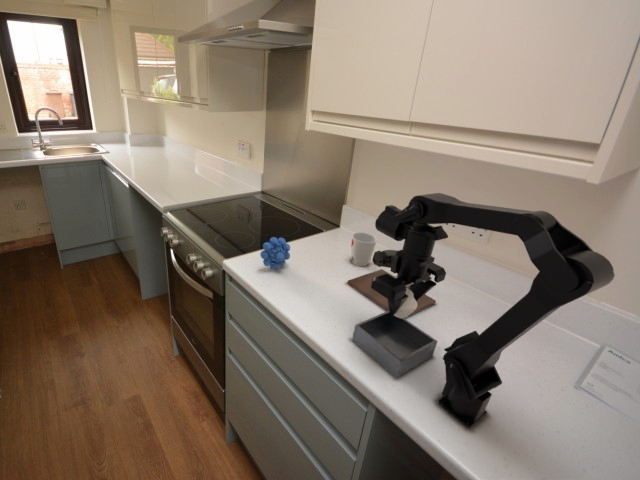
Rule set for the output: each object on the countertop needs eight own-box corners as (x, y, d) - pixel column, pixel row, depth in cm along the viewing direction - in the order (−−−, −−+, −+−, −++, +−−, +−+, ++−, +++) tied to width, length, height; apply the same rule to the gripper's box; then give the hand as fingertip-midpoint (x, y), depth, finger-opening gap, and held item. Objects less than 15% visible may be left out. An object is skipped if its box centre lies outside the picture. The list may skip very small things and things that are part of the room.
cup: (353, 254, 127) (358, 230, 123) (374, 262, 122) (380, 237, 118) (344, 262, 121) (348, 237, 117) (365, 271, 116) (371, 245, 112)
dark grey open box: (432, 356, 81) (437, 341, 79) (396, 378, 74) (400, 361, 72) (387, 323, 91) (391, 309, 89) (351, 340, 85) (355, 324, 83)
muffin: (380, 308, 81) (386, 283, 78) (400, 304, 83) (406, 279, 80) (398, 325, 76) (405, 299, 73) (419, 319, 78) (427, 294, 75)
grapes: (266, 279, 108) (268, 245, 104) (255, 269, 114) (257, 236, 109) (295, 271, 114) (299, 238, 109) (284, 261, 119) (287, 230, 114)
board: (435, 304, 100) (436, 300, 100) (399, 320, 93) (400, 316, 92) (381, 272, 116) (381, 269, 116) (347, 283, 108) (347, 280, 108)
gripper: (411, 228, 84) (397, 282, 90) (358, 243, 74) (346, 301, 81) (455, 247, 75) (437, 305, 81) (401, 266, 66) (384, 330, 72)
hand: (400, 309), depth 79 cm, fingers closed on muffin, 6 cm apart
